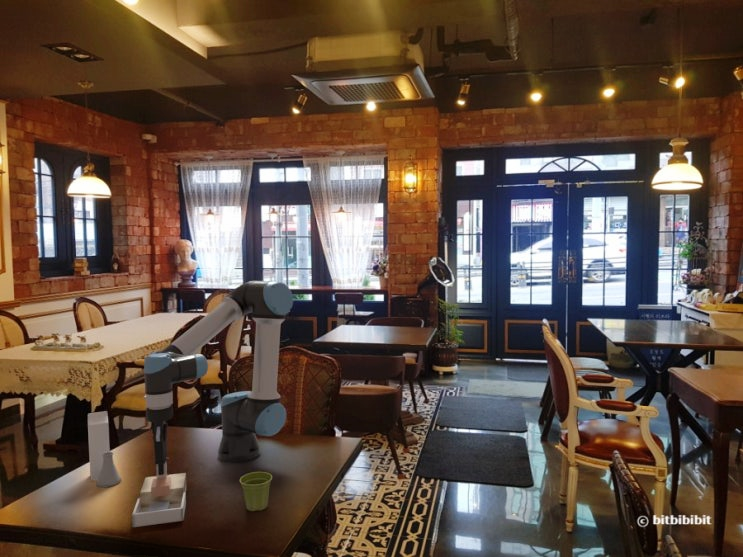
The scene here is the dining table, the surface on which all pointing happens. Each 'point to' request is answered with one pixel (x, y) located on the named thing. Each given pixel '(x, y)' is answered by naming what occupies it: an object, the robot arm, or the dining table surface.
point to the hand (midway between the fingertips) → (162, 483)
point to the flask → (108, 472)
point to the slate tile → (159, 506)
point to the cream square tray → (175, 495)
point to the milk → (97, 441)
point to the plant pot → (256, 490)
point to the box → (158, 514)
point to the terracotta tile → (161, 487)
